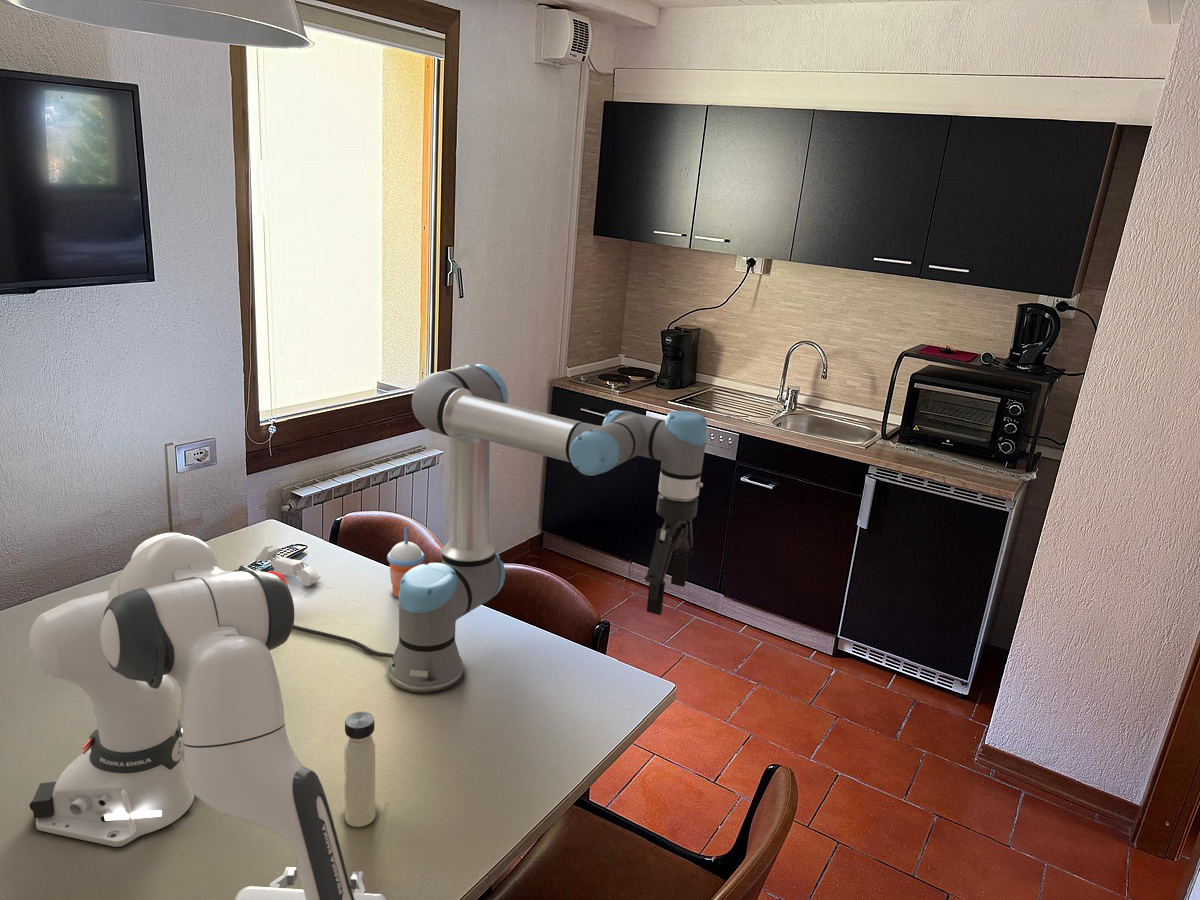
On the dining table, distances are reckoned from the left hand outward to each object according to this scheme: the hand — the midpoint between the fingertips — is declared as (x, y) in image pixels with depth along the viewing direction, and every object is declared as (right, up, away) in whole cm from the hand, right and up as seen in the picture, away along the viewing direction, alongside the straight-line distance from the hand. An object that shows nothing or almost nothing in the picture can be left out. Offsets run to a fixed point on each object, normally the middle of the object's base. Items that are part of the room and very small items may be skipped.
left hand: (325, 872), depth 122 cm
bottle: (0, 0, +19) cm, 19 cm away
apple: (-39, +22, +79) cm, 90 cm away
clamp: (-41, +28, +98) cm, 110 cm away
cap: (+1, +17, +13) cm, 22 cm away
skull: (-62, +25, +83) cm, 107 cm away
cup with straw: (-10, +24, +94) cm, 97 cm away
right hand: (+52, +32, +42) cm, 74 cm away
